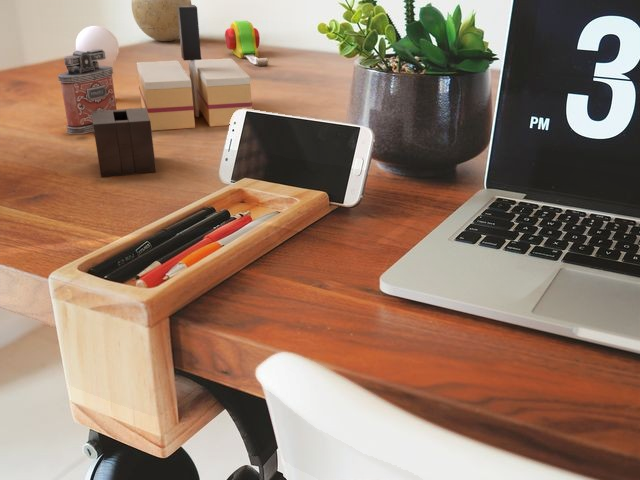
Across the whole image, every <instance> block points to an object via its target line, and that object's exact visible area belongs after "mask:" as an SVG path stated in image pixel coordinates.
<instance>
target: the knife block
mask: <svg viewBox="0 0 640 480" xmlns="http://www.w3.org/2000/svg"><path fill="white" fill-rule="evenodd" d="M92 119H93V127H94V131H93V133H94V140H95V147H96V153H97V160H98V167H99V173H100V178H105V177H107V178H108V177H119V176H128V175H129V176H130V175H140V174H152V173H157V167H156V166H157V165H156V158H155V157H156V156H155V149H154V141H153V140H154V139H153V133H152V131H151V122H150V119H149V116H148V113H147V110H146V108H142V107H138V108H137V107H135V108H122V109H118V108H117V110H101V111H92Z"/></svg>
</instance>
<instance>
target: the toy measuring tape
mask: <svg viewBox="0 0 640 480" xmlns="http://www.w3.org/2000/svg"><path fill="white" fill-rule="evenodd" d="M224 41H225V45H226V47H227V49H228V50H231V51H232V53H233V54H234V55H235V56H236V57H237V58H239V59H247V60H248V61H249V63H251V64H253V65H254V66H255V65H256V67H260V66H261V67H262V66H263V67H264V66H268V65H269V60H268V58H267V57H261V58H259V52H258V48H259V47H260V43H261V39H260V32H259V30H258V29H257V27H254V25H253V24H252V22H249V21H248V20H234V21H233V22H232V23H230V26H229V27H228V28H226V30H225V32H224Z"/></svg>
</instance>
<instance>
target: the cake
mask: <svg viewBox="0 0 640 480" xmlns="http://www.w3.org/2000/svg"><path fill="white" fill-rule="evenodd" d="M136 70H137V79H138V90H139V96H140V104H141V108H146V110H147V113H148V116H149V119H150V122H151V131H154V132H155V131H167V130H181V129H195V128H196V123H195V114H194V106H193V97H192V88H191V87H192V85H191V80H190V76H189V75H188V73H187V71H185V69H184V68H183V66H182V65H181V63H180V61H179V60H159V61H138V62H136ZM195 70H196V82H197V94H198V106H199V112H200V113H201V114H202V116H203V118H204V119H205V121H206V122H207V124H208V126H209V127H210V128H211V127H225V126H230V125H229V122H230V119H231V117H232V115H233V113H234V112H235V111H236V110H238V109H242V108H247V109H252V110H253V101H252V85H251V83H252V82H251V76H250V75H249V74H248V73H246V72H245V71H244V70H243V68H242V67H241V66H239V64H238V63H237V62H236V61H234V59H233V58H231V57H230V58H206V59H201V60H195Z"/></svg>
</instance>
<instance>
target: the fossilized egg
mask: <svg viewBox="0 0 640 480" xmlns="http://www.w3.org/2000/svg"><path fill="white" fill-rule="evenodd" d="M177 5H193V4H192V0H131V12H132V16H133V19H134V21H135V23H136V25H137V27H138V28H139V29H140V30H141V31H142V32H143V33H144V34H145V35H146V36H148V37H149V38H151V39H153V40H155V41H159V42H170V41H174V40H177V39H179V38H180V33H179V22H178V11H177Z"/></svg>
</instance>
